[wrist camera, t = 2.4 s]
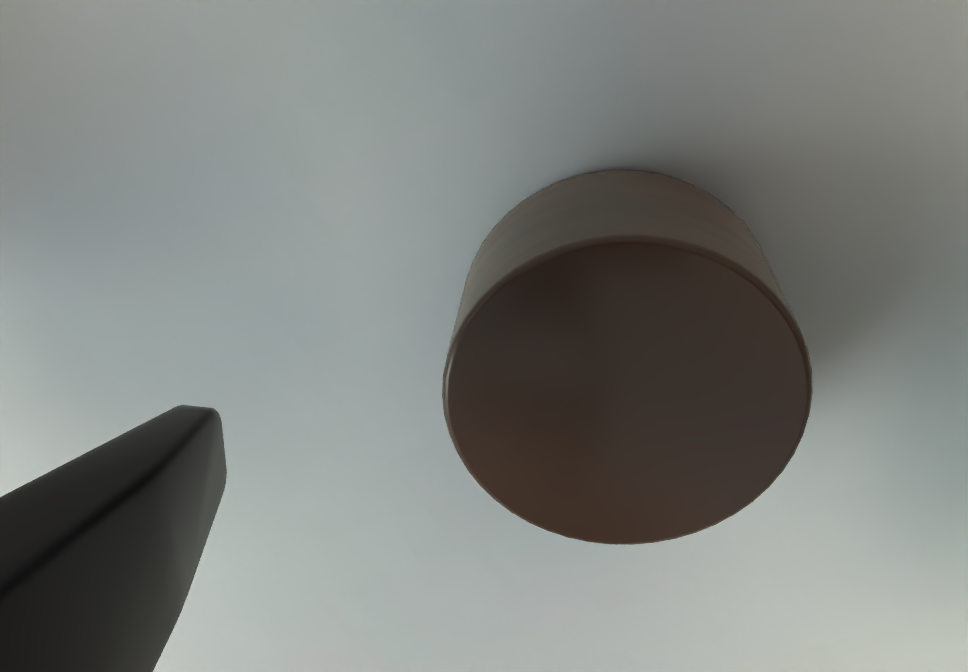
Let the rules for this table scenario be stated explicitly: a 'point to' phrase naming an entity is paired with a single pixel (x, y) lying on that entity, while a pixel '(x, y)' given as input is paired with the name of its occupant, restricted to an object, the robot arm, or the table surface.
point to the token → (624, 362)
